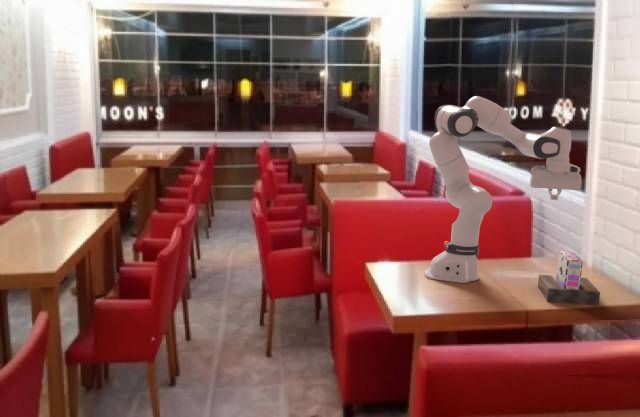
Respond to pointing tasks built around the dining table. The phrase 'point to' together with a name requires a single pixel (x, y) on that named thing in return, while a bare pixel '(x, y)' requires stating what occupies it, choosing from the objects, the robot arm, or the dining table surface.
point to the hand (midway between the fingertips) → (553, 199)
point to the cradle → (568, 291)
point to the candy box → (569, 270)
